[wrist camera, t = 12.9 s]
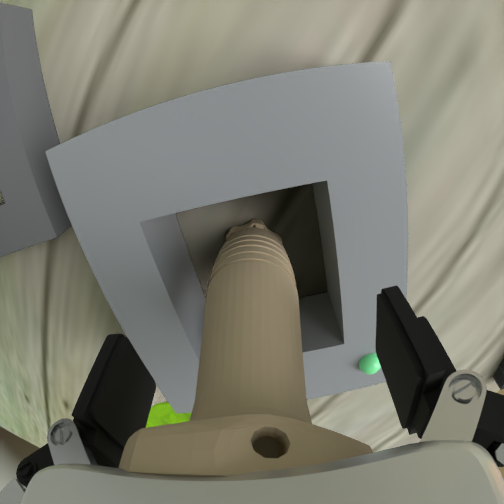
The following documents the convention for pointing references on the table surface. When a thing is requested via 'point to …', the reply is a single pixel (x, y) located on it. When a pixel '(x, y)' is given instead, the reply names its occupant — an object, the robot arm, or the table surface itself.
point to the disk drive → (500, 376)
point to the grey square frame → (25, 140)
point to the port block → (237, 186)
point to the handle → (245, 376)
